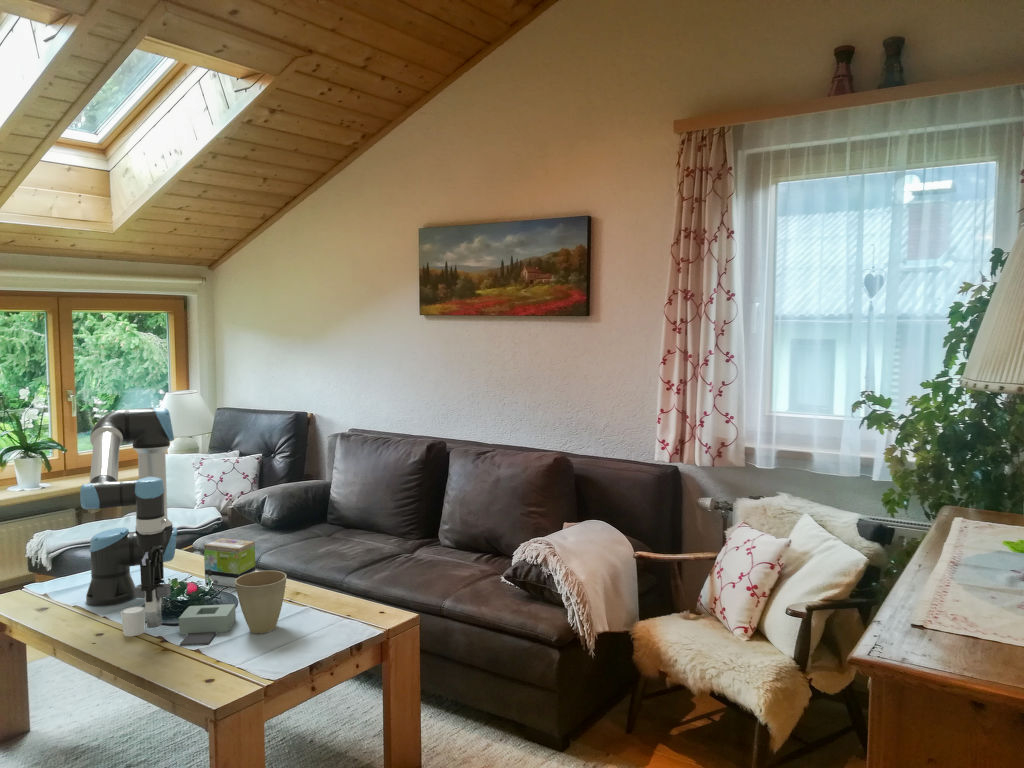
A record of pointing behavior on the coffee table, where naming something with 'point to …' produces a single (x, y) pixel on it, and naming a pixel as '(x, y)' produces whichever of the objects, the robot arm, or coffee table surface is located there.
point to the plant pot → (261, 599)
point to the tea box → (228, 560)
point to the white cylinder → (133, 620)
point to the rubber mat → (198, 638)
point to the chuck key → (161, 591)
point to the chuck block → (207, 618)
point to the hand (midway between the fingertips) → (153, 608)
